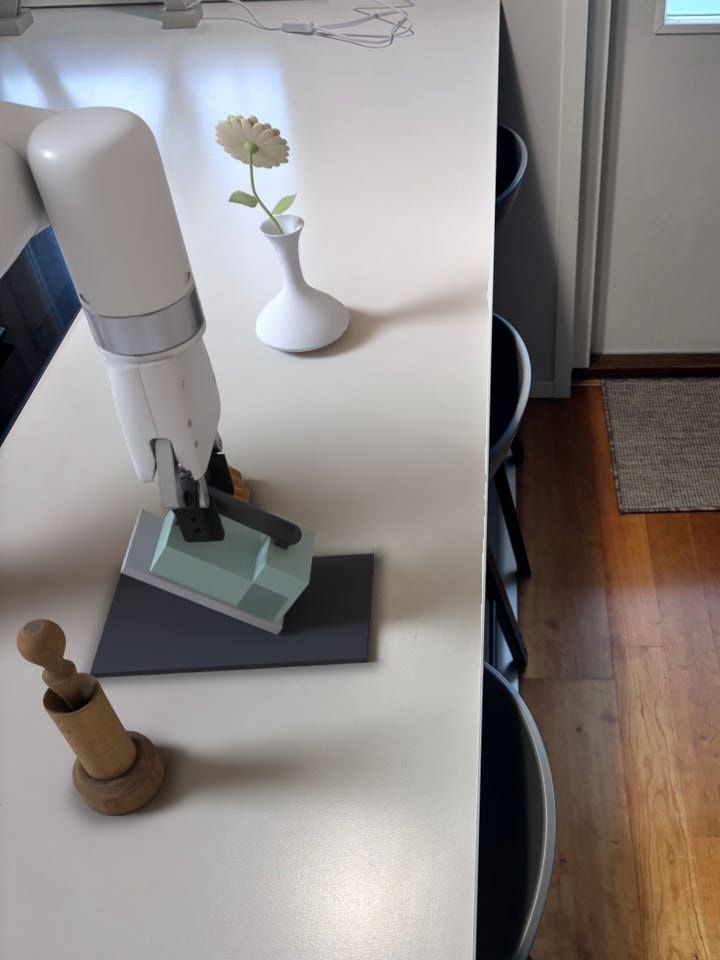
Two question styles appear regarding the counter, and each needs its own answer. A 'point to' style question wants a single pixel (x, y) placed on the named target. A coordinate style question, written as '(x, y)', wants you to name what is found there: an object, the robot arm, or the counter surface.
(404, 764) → the counter surface
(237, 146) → the flower in vase
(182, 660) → the iron mat
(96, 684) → the mortar and pestle
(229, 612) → the iron
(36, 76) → the counter surface
